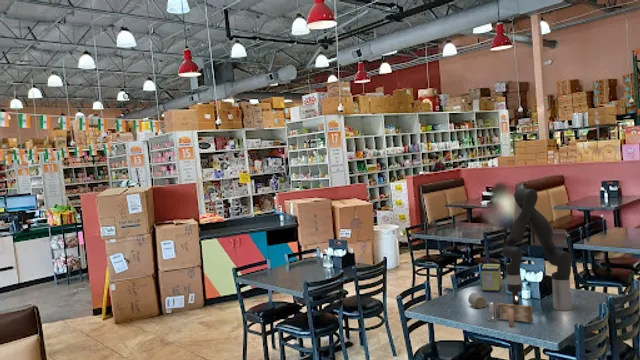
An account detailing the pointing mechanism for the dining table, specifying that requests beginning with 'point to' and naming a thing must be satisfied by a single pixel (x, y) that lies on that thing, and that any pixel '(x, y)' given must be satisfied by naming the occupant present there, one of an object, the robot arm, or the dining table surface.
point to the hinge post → (492, 312)
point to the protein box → (491, 278)
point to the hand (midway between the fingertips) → (516, 313)
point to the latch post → (511, 318)
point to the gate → (514, 312)
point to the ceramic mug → (477, 300)
